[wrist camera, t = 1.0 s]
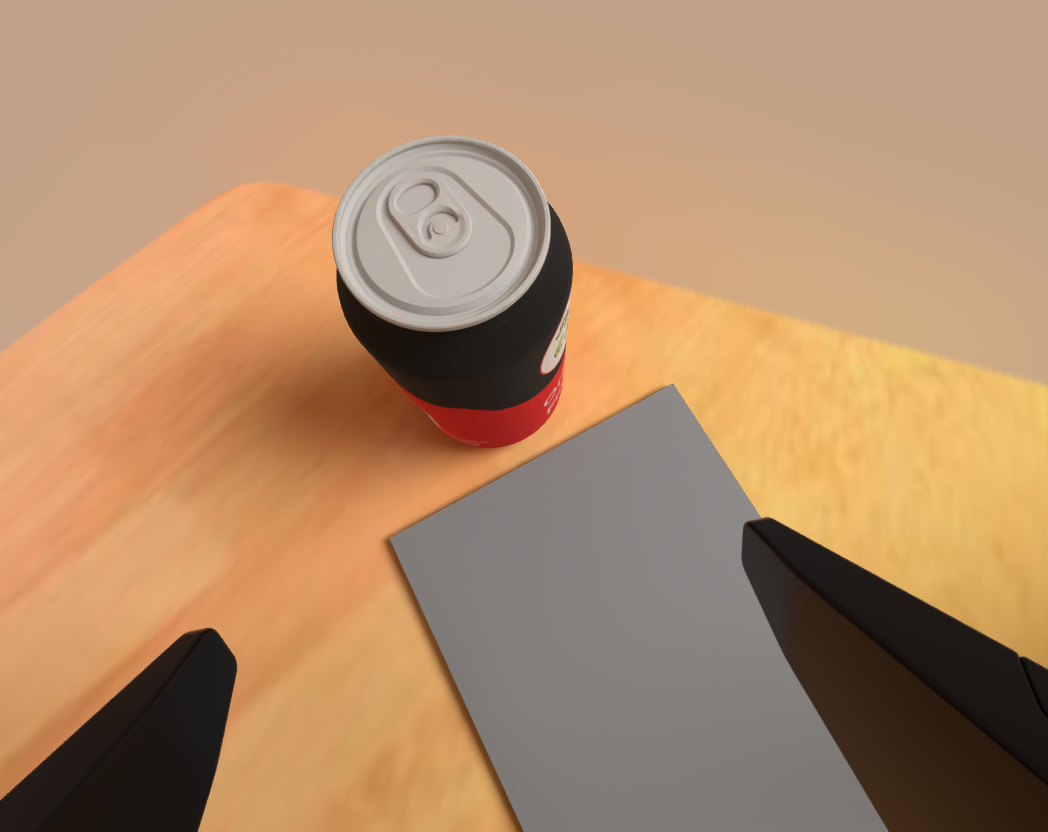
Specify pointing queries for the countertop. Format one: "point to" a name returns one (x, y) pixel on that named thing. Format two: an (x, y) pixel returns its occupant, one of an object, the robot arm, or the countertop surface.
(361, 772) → the countertop surface
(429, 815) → the countertop surface
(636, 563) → the rubber mat
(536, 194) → the beverage can
